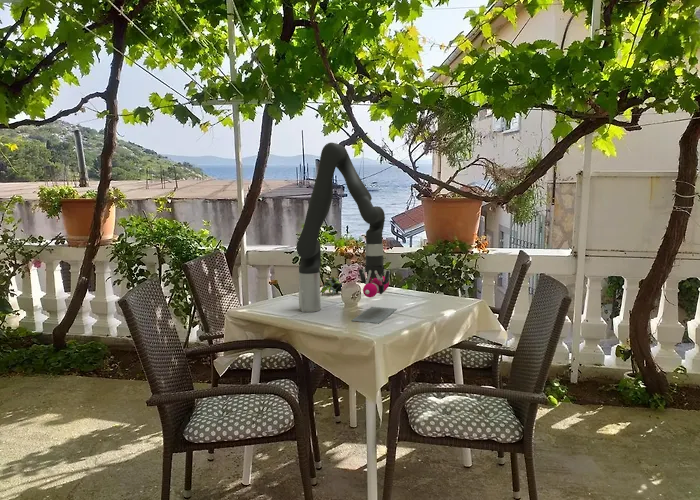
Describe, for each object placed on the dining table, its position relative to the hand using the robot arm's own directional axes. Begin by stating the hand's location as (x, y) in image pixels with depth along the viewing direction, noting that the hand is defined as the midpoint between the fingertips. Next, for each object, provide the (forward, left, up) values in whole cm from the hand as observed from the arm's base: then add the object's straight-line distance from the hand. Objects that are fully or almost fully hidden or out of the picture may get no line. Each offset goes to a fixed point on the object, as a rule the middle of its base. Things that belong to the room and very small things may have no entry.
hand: (375, 293), depth 219 cm
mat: (0, 0, -10) cm, 10 cm away
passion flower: (-6, +45, -10) cm, 47 cm away
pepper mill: (+6, +8, +3) cm, 11 cm away
